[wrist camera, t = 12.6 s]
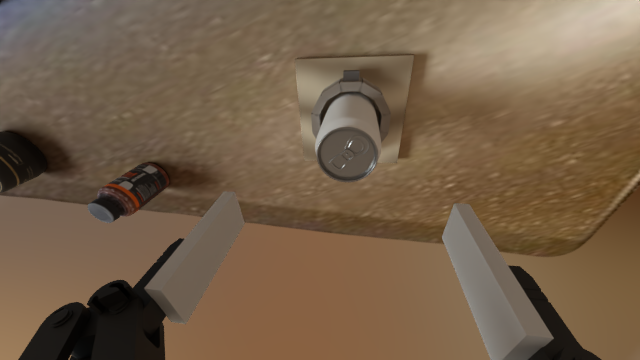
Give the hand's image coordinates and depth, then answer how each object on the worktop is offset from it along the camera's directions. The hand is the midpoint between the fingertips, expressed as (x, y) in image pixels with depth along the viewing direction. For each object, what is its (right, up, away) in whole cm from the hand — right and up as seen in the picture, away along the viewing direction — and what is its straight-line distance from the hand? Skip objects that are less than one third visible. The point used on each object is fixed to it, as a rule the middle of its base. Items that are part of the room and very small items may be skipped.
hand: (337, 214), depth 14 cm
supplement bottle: (-33, +3, +30) cm, 44 cm away
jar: (-61, +8, +32) cm, 69 cm away
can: (+3, +11, +17) cm, 20 cm away
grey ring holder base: (+3, +12, +18) cm, 21 cm away
